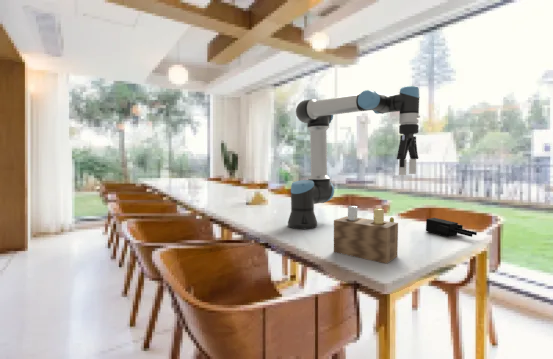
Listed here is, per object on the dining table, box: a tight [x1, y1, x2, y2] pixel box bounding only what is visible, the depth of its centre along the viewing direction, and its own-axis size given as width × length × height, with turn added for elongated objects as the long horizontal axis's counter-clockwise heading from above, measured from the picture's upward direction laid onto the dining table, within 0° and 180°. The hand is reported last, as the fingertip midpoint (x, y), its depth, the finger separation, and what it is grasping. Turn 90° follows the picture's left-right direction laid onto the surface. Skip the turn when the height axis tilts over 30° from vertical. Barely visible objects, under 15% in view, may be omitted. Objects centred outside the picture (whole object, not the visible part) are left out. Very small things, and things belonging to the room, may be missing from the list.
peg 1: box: [347, 205, 358, 221], centre depth 115 cm, size 3×3×10 cm
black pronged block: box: [425, 217, 478, 238], centre depth 138 cm, size 11×6×20 cm
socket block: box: [333, 215, 399, 264], centre depth 112 cm, size 20×10×12 cm, turn 49°
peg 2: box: [373, 208, 385, 225], centre depth 109 cm, size 3×3×10 cm
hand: (407, 174), depth 132 cm, fingers open, 13 cm apart
